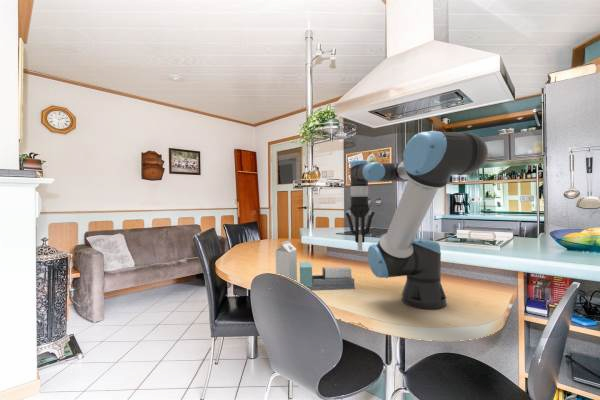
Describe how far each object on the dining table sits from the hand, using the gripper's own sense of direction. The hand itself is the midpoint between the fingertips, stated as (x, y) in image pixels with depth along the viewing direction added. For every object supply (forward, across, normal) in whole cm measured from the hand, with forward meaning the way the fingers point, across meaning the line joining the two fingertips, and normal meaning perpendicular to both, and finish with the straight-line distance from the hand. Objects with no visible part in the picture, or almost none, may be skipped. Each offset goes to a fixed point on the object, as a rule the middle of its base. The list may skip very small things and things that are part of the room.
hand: (359, 249), depth 131 cm
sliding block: (+14, +10, 0) cm, 17 cm away
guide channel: (+16, +15, 0) cm, 22 cm away
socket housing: (+14, +24, 0) cm, 28 cm away
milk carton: (+16, +32, -7) cm, 37 cm away
